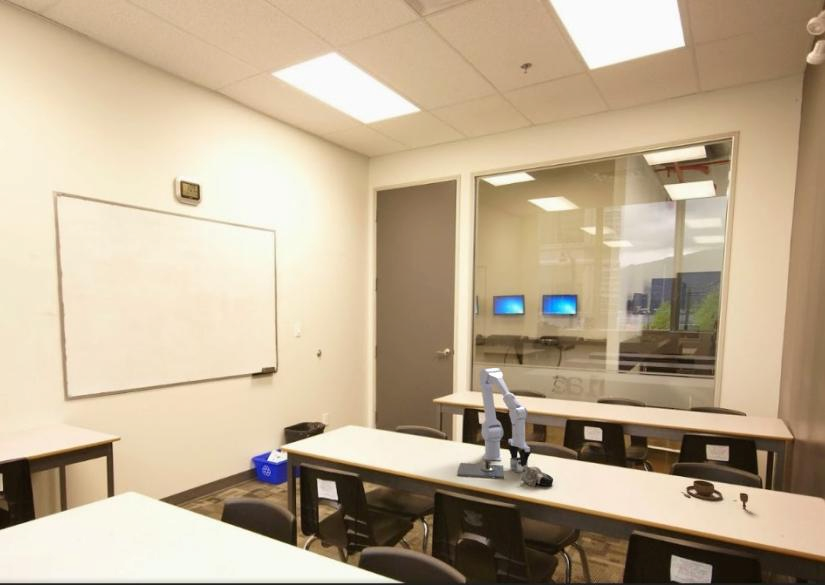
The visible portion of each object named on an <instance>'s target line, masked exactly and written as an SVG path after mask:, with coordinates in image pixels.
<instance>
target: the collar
mask: <svg viewBox="0 0 825 585" xmlns="http://www.w3.org/2000/svg"><path fill="white" fill-rule="evenodd" d="M509 460H510V462H509V464H510V468H509V469H510V470H511V469H512V470H511V471H513V472H514V473H516V472H517V473H516V474H519V473H520V472H521V473H522V471H523V467H522V466H521V459H520V456H517V457H513V458H511V457H510V458H509ZM528 461H529V459H528V460H527V465H526V466H528V465H529V462H528ZM528 467H529V466H528Z"/></svg>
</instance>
